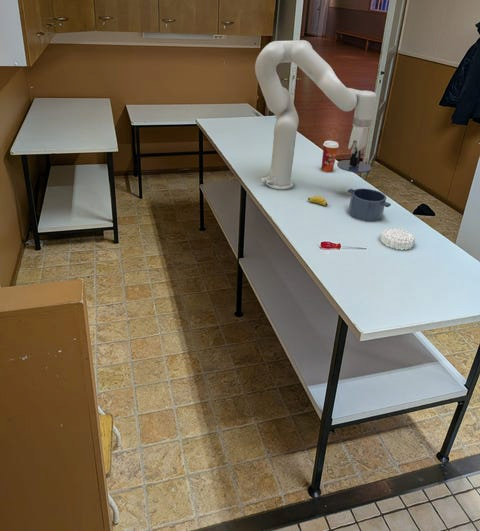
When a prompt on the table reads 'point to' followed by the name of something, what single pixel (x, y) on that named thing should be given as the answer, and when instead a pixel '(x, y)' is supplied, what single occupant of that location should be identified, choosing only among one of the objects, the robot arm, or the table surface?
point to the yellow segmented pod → (318, 200)
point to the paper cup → (329, 155)
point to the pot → (367, 204)
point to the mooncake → (397, 238)
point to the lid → (359, 168)
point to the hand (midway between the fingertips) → (354, 164)
